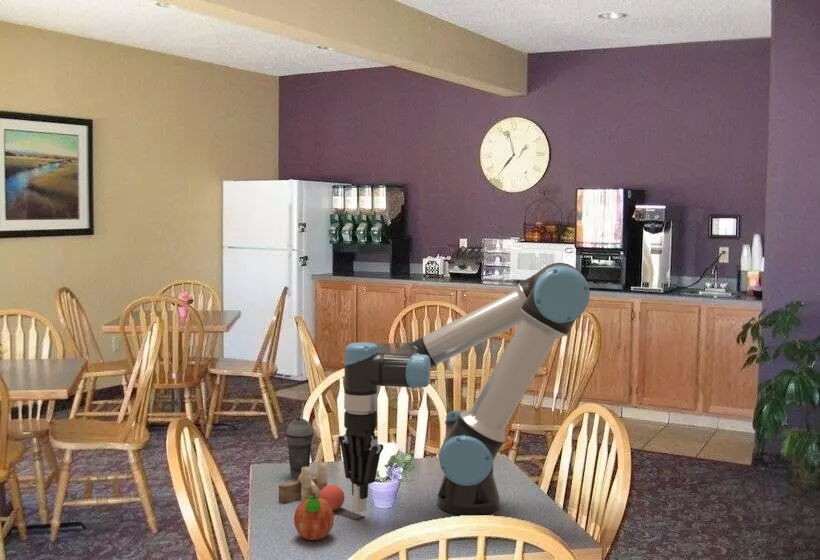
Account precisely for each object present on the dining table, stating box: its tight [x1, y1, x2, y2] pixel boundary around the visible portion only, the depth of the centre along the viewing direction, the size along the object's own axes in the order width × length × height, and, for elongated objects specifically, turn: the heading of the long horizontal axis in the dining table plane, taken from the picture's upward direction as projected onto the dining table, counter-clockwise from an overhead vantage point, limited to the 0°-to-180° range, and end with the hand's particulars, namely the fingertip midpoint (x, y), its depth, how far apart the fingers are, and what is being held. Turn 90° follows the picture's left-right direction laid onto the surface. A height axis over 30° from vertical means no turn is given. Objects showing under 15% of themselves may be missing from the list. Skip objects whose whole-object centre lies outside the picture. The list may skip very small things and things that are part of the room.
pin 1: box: [300, 466, 312, 503], centre depth 217 cm, size 2×2×9 cm
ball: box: [319, 484, 345, 511], centre depth 214 cm, size 6×6×6 cm
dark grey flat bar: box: [333, 507, 365, 521], centre depth 212 cm, size 10×3×1 cm, turn 46°
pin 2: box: [316, 461, 328, 490], centre depth 221 cm, size 2×2×9 cm
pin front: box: [297, 474, 321, 498], centre depth 220 cm, size 2×2×9 cm
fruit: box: [293, 493, 335, 541], centre depth 196 cm, size 9×10×10 cm
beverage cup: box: [285, 402, 314, 480], centre depth 238 cm, size 7×7×20 cm
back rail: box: [278, 474, 317, 504], centre depth 223 cm, size 12×2×4 cm, turn 136°
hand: (359, 510), depth 208 cm, fingers closed
